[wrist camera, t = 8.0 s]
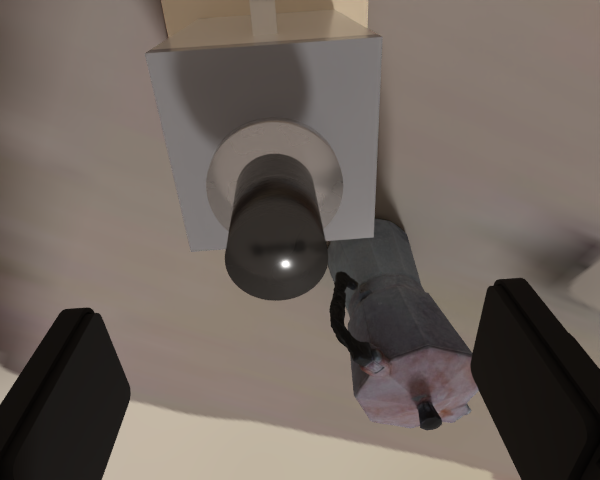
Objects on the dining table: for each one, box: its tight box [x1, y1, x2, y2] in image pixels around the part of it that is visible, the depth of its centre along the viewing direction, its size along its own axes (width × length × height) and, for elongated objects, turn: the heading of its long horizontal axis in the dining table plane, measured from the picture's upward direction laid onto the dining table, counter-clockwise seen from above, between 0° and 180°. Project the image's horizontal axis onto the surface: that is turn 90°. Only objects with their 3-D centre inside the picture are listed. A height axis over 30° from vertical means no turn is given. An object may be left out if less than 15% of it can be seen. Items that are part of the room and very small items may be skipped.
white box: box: [145, 0, 382, 252], centre depth 28 cm, size 15×19×18 cm
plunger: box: [206, 117, 343, 300], centre depth 23 cm, size 8×8×23 cm
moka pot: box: [328, 219, 479, 430], centre depth 37 cm, size 10×15×20 cm, turn 51°
